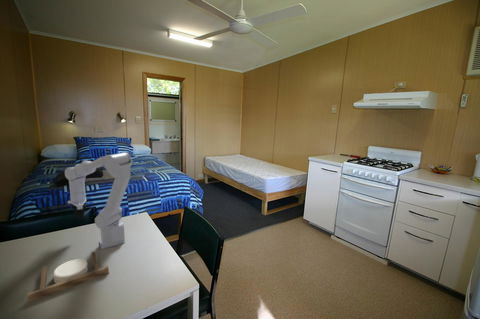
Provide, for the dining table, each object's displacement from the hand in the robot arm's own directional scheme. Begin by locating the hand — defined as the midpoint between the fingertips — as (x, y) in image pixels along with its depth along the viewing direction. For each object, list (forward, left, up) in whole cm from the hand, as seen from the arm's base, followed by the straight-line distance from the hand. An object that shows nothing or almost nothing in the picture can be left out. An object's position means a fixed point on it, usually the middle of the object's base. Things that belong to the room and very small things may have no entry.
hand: (80, 218), depth 103 cm
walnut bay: (+5, +29, -9) cm, 30 cm away
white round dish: (+5, +29, -10) cm, 31 cm away
